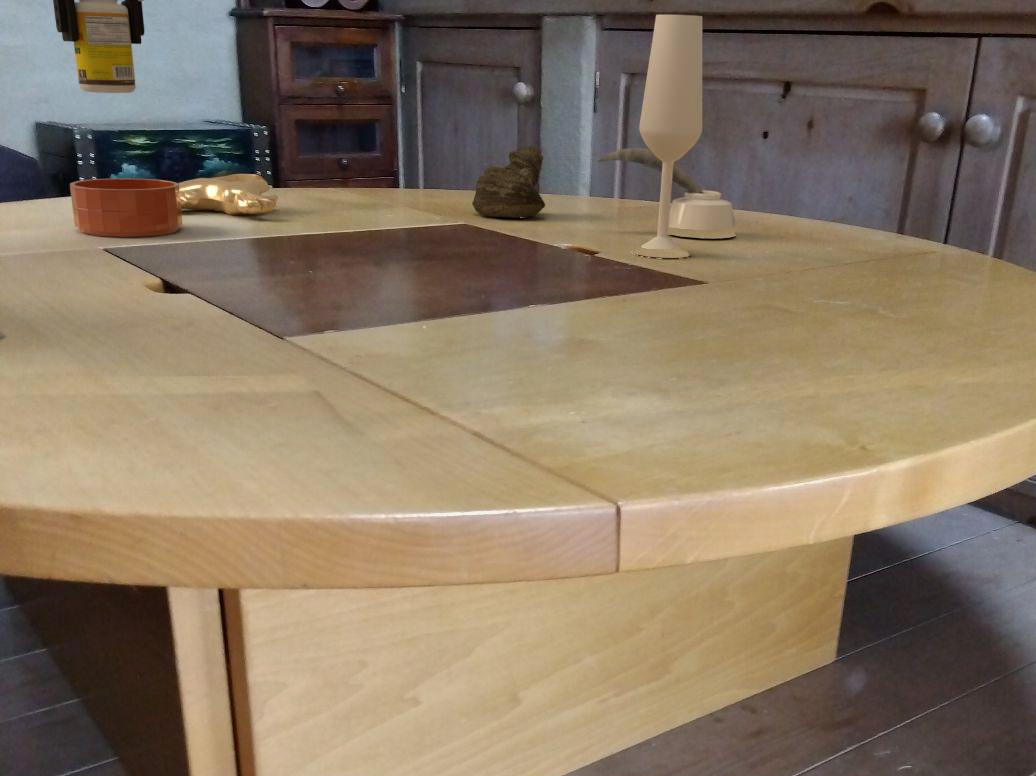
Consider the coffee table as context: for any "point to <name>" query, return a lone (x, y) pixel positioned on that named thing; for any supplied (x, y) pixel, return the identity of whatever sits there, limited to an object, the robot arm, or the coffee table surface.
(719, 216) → the inkwell
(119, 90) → the supplement bottle
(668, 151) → the champagne flute
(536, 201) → the brown irregular lump
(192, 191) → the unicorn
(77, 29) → the robot arm
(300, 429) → the coffee table surface
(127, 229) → the bowl
